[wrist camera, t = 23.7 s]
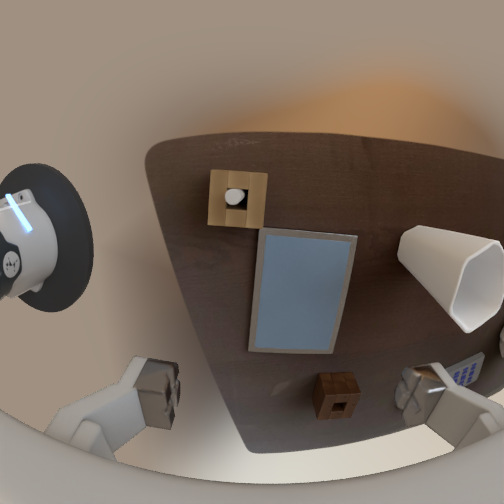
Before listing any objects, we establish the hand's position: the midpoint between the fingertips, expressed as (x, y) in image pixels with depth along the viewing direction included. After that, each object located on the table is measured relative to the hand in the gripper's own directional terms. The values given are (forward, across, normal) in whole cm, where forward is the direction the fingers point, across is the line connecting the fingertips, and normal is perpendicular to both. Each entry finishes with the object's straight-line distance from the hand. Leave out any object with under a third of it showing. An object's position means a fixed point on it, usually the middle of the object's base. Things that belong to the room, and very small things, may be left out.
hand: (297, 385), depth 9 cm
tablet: (+31, -6, +11) cm, 34 cm away
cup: (+32, -24, +2) cm, 40 cm away
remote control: (+32, -44, +31) cm, 63 cm away
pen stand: (+31, -15, +29) cm, 45 cm away
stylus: (+31, +4, -3) cm, 32 cm away
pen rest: (+31, +4, -3) cm, 32 cm away
